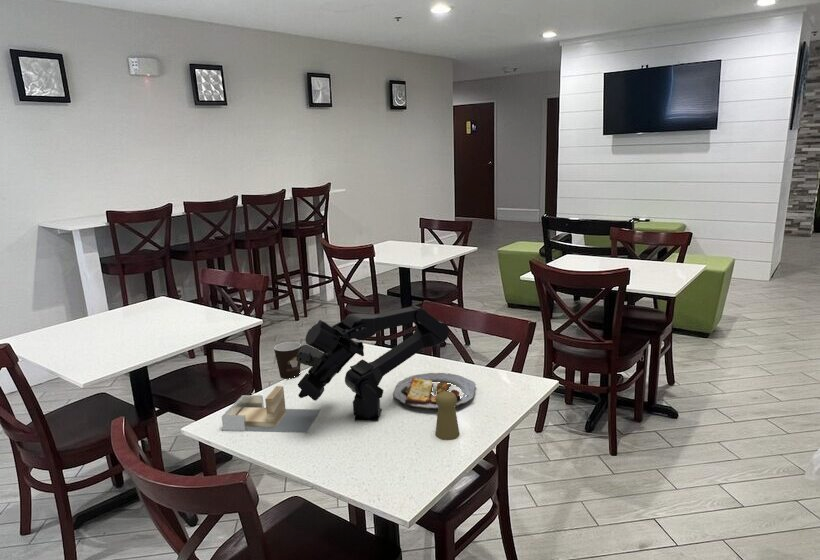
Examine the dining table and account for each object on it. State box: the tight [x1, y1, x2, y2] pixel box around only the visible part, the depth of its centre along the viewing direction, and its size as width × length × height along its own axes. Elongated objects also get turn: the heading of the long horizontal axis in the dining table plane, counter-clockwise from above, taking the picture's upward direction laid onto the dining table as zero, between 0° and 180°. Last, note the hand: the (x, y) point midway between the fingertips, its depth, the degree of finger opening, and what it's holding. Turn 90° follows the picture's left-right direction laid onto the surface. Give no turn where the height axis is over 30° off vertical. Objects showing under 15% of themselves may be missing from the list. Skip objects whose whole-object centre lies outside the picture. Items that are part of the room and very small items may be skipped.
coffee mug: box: [273, 341, 303, 380], centre depth 180 cm, size 12×9×10 cm
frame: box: [221, 394, 265, 432], centre depth 150 cm, size 6×13×4 cm, turn 173°
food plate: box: [392, 372, 476, 410], centre depth 161 cm, size 25×23×4 cm
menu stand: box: [238, 385, 287, 427], centre depth 149 cm, size 12×8×8 cm, turn 83°
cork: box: [434, 390, 460, 441], centre depth 137 cm, size 6×6×11 cm
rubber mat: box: [221, 408, 321, 434], centre depth 149 cm, size 23×13×1 cm, turn 83°
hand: (299, 396), depth 147 cm, fingers closed
